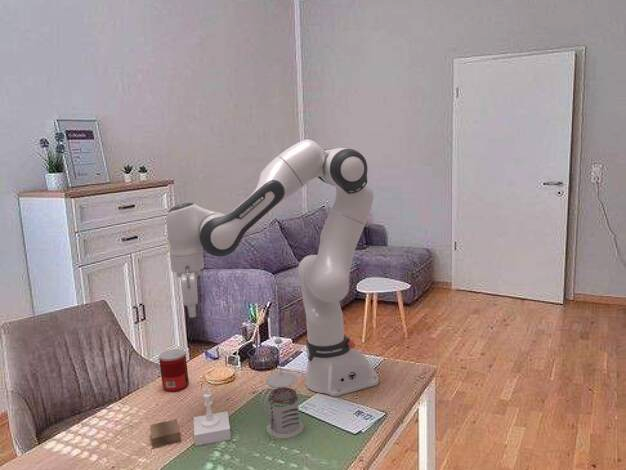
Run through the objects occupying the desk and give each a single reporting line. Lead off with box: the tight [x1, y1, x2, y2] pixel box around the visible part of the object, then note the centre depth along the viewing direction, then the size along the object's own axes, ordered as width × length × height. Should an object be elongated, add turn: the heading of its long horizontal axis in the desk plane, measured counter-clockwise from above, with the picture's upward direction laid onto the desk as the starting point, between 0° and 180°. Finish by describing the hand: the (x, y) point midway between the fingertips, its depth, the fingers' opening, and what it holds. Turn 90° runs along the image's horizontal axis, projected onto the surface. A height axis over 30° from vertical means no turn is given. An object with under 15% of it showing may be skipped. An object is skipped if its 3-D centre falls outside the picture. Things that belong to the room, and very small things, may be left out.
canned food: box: [158, 348, 190, 393], centre depth 165 cm, size 8×8×11 cm
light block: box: [193, 411, 232, 447], centre depth 138 cm, size 9×9×3 cm
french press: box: [259, 337, 305, 439], centre depth 136 cm, size 10×12×25 cm
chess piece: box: [201, 386, 220, 428], centre depth 137 cm, size 5×5×10 cm
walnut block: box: [149, 418, 182, 449], centre depth 138 cm, size 7×7×3 cm
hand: (192, 311), depth 147 cm, fingers open, 8 cm apart
